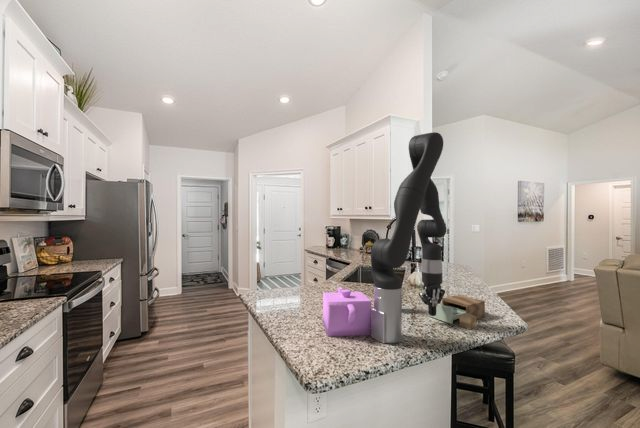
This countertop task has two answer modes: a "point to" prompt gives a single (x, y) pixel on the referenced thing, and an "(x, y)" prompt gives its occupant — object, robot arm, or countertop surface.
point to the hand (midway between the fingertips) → (432, 315)
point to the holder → (466, 305)
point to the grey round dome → (454, 310)
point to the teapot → (346, 313)
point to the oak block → (468, 321)
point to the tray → (447, 313)
